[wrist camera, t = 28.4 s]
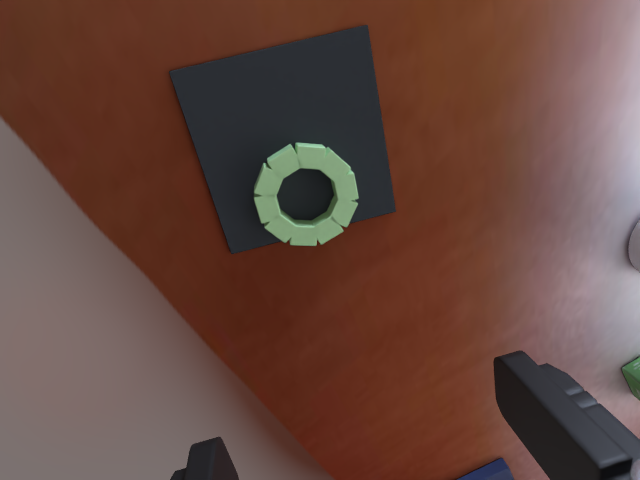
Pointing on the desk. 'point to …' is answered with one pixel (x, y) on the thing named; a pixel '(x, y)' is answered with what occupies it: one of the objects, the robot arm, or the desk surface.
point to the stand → (491, 472)
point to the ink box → (633, 376)
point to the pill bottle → (635, 247)
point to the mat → (287, 128)
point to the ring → (321, 225)
